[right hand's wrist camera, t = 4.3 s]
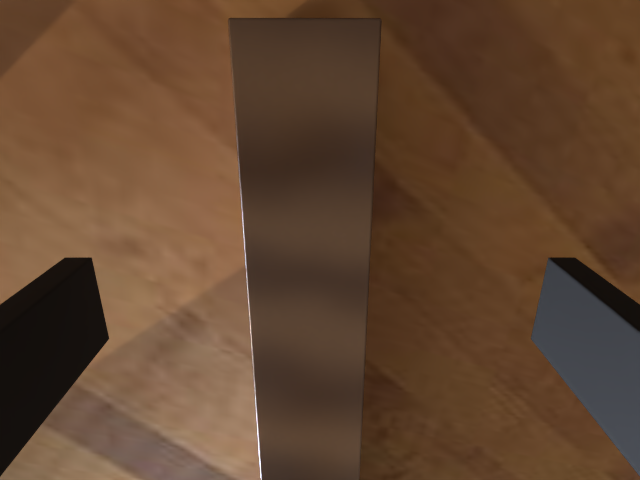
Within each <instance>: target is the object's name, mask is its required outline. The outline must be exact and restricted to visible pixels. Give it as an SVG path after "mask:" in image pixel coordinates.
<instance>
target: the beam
mask: <svg viewBox="0 0 640 480" xmlns="http://www.w3.org/2000/svg"><path fill="white" fill-rule="evenodd" d="M228 27H229V41H230V55H231V69H232V83H233V97H234V111H235V125H236V139H237V153H238V167H239V181H240V195H241V209H242V223H243V237H244V251H245V265H246V279H247V293H248V307H249V321H250V335H251V349H252V363H253V377H254V391H255V405H256V419H257V433H258V447H259V461H260V475H261V480H360V459H361V438H362V417H363V396H364V376H365V355H366V334H367V313H368V292H369V271H370V250H371V229H372V209H373V188H374V167H375V146H376V125H377V104H378V83H379V63H380V42H381V19H380V18H229V19H228Z"/></svg>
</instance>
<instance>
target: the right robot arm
mask: <svg viewBox="0 0 640 480" xmlns="http://www.w3.org/2000/svg"><path fill="white" fill-rule="evenodd" d="M108 339H109V336H108V331H107V327H106V322H105V318H104V313H103V308H102V304H101V299H100V294H99V290H98V285H97V280H96V276H95V271H94V266H93V262H92V258H64V259H62V260H61V261H60V262H58V263H57V264H56V265H54V266H53V267H51V268H50V269H49V270H47V271H46V272H45V273H43V274H42V275H40V276H39V277H38V278H36V279H35V280H34V281H32V282H31V283H29V284H28V285H27V286H25V287H24V288H23V289H21V290H20V291H18V292H17V293H16V294H14V295H13V296H12V297H10V298H9V299H8V300H6V301H5V302H3V303H2V304H1V305H0V476H1V475H2V474H3V472H4V471H5V470H6V468H7V467H8V466H9V465H10V463H11V462H12V461H13V460H14V458H15V457H16V456H17V455H18V453H19V452H20V451H21V449H22V448H23V447H24V446H25V444H26V443H27V442H28V441H29V439H30V438H31V437H32V436H33V434H34V433H35V432H36V431H37V429H38V428H39V427H40V425H41V424H42V423H43V422H44V420H45V419H46V418H47V417H48V415H49V414H50V413H51V412H52V410H53V409H54V408H55V406H56V405H57V404H58V403H59V401H60V400H61V399H62V398H63V396H64V395H65V394H66V393H67V391H68V390H69V389H70V388H71V386H72V385H73V384H74V382H75V381H76V380H77V379H78V377H79V376H80V375H81V374H82V372H83V371H84V370H85V369H86V367H87V366H88V365H89V363H90V362H91V361H92V360H93V358H94V357H95V356H96V355H97V353H98V352H99V351H100V350H101V348H102V347H103V346H104V345H105V343H106V342H107V341H108ZM531 339H532V341H533V342H534V343H535V345H536V346H537V347H538V348H539V350H540V351H541V352H542V353H543V355H544V356H545V357H546V358H547V360H548V361H549V362H550V363H551V365H552V366H553V367H554V369H555V370H556V371H557V372H558V374H559V375H560V376H561V377H562V379H563V380H564V381H565V382H566V384H567V385H568V386H569V388H570V389H571V390H572V391H573V393H574V394H575V395H576V396H577V398H578V399H579V400H580V401H581V403H582V404H583V405H584V406H585V408H586V409H587V410H588V412H589V413H590V414H591V415H592V417H593V418H594V419H595V420H596V422H597V423H598V424H599V425H600V427H601V428H602V429H603V431H604V432H605V433H606V434H607V436H608V437H609V438H610V439H611V441H612V442H613V443H614V444H615V446H616V447H617V448H618V449H619V451H620V452H621V453H622V455H623V456H624V457H625V458H626V460H627V461H628V462H629V463H630V465H631V466H632V467H633V468H634V470H635V471H636V472H637V474H638V475H639V476H640V305H639V304H638V303H637V302H635V301H634V300H632V299H631V298H630V297H628V296H627V295H626V294H624V293H623V292H622V291H620V290H619V289H617V288H616V287H615V286H613V285H612V284H611V283H609V282H608V281H606V280H605V279H604V278H602V277H601V276H600V275H598V274H597V273H595V272H594V271H593V270H591V269H590V268H589V267H587V266H586V265H584V264H583V263H582V262H580V261H579V260H578V259H576V258H548V262H547V266H546V271H545V276H544V280H543V285H542V290H541V294H540V299H539V304H538V308H537V313H536V318H535V322H534V327H533V331H532V336H531Z"/></svg>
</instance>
